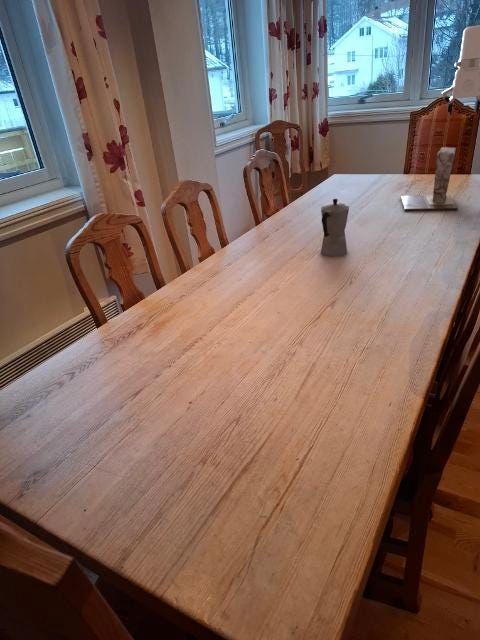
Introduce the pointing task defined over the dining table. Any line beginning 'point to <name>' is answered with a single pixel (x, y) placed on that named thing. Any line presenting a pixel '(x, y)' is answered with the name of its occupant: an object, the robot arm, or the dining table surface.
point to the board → (427, 203)
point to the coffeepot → (334, 229)
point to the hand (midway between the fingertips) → (462, 113)
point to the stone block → (443, 173)
